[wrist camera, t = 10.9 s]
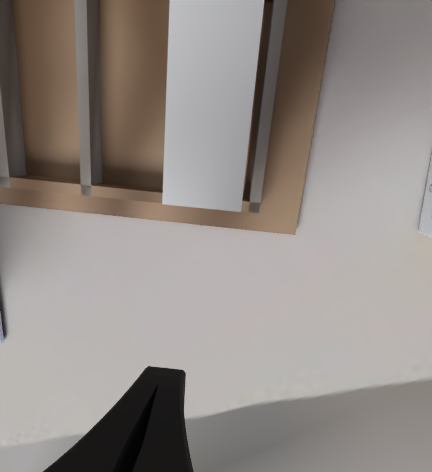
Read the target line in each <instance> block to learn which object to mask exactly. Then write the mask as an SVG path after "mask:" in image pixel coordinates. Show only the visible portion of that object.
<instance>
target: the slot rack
mask: <svg viewBox="0 0 432 472" xmlns="http://www.w3.org/2000/svg"><path fill="white" fill-rule="evenodd" d="M169 3H170V0H0V204H9V205H19V206H28V207H37V208H47V209H56V210H66V211H75V212H84V213H94V214H103V215H113V216H122V217H132V218H141V219H150V220H160V221H169V222H179V223H188V224H197V225H207V226H216V227H226V228H235V229H245V230H254V231H263V232H273V233H282V234H292V235H295V233H296V227H297V222H298V216H299V210H300V204H301V198H302V192H303V186H304V181H305V175H306V169H307V163H308V157H309V151H310V145H311V140H312V134H313V128H314V122H315V116H316V110H317V105H318V99H319V93H320V87H321V81H322V75H323V69H324V64H325V58H326V52H327V46H328V40H329V34H330V28H331V23H332V17H333V11H334V5H335V0H264V9H263V18H262V27H261V36H260V45H259V54H258V63H257V72H256V81H255V90H254V99H253V108H252V117H251V126H250V135H249V144H248V153H247V162H246V171H245V180H244V189H243V198H242V207H241V212H235V211H225V210H215V209H205V208H195V207H185V206H174V205H164V204H162V196H163V169H164V141H165V114H166V86H167V59H168V31H169Z"/></svg>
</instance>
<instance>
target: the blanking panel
mask: <svg viewBox="0 0 432 472" xmlns="http://www.w3.org/2000/svg"><path fill="white" fill-rule="evenodd" d="M263 9H264V0H170V3H169V31H168V59H167V86H166V114H165V141H164V169H163V196H162V204H164V205H174V206H185V207H195V208H205V209H215V210H225V211H235V212H241V207H242V198H243V189H244V180H245V171H246V162H247V153H248V144H249V135H250V126H251V117H252V108H253V99H254V90H255V81H256V72H257V63H258V54H259V45H260V36H261V27H262V18H263Z"/></svg>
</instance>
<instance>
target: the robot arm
mask: <svg viewBox="0 0 432 472" xmlns="http://www.w3.org/2000/svg"><path fill="white" fill-rule="evenodd" d="M3 340H4V338H3V330H2V321H1V313H0V344H1V343H2V342H3ZM185 376H186V373H185V372H184V371H183V370H178V369H169V368H160V367H150V366H148V367H147V368H146V369H145V370H144V371H143V372H142V374H141V375H140V376H139V378H138V379H137V380H136V381H135V382H134V384H133V385H132V386H131V387H130V388H129V390H128V391H127V392H126V393H125V394H124V395H123V396H122V398H121V399H120V400H119V401H118V402H117V403H116V404H115V405H114V406H113V407H112V408H111V410H110V411H109V412H108V413H107V414H106V415H105V416H104V417H103V418H102V419H101V420H100V421H99V422H98V423H97V424H96V425H95V426H94V427H93V428H92V429H91V430H90V431H89V432H88V433H87V434H86V435H85V436H84V437H83V438H82V439H80V440H79V441H78V442H77V443H76V444H75V445H74V446H73V447H72V448H71V449H69V450H68V451H67V452H66V453H65V454H64V455H63V456H61V457H60V458H59V459H58V460H57V461H56V462H54V463H53V464H52V465H51V466H49V467H48V468H47V469H46V470H44V471H43V472H193V468H192V463H191V458H190V453H189V447H188V441H187V435H186V428H185V419H184V395H185Z"/></svg>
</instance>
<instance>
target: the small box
mask: <svg viewBox="0 0 432 472" xmlns="http://www.w3.org/2000/svg"><path fill="white" fill-rule="evenodd" d="M418 231H419V232H420V233H422V234H424V235H426V236H429V237H431V238H432V155H431V161H430V167H429V172H428V178H427V184H426V189H425V195H424V201H423V207H422V212H421V218H420V223H419V229H418Z"/></svg>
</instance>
